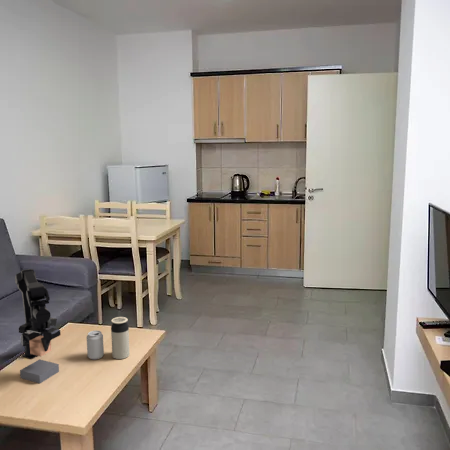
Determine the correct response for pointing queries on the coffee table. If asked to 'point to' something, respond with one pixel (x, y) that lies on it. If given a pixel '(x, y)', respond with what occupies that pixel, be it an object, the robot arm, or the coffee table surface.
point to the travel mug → (120, 338)
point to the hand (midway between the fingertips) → (40, 349)
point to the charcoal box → (39, 371)
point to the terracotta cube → (38, 346)
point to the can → (95, 345)
